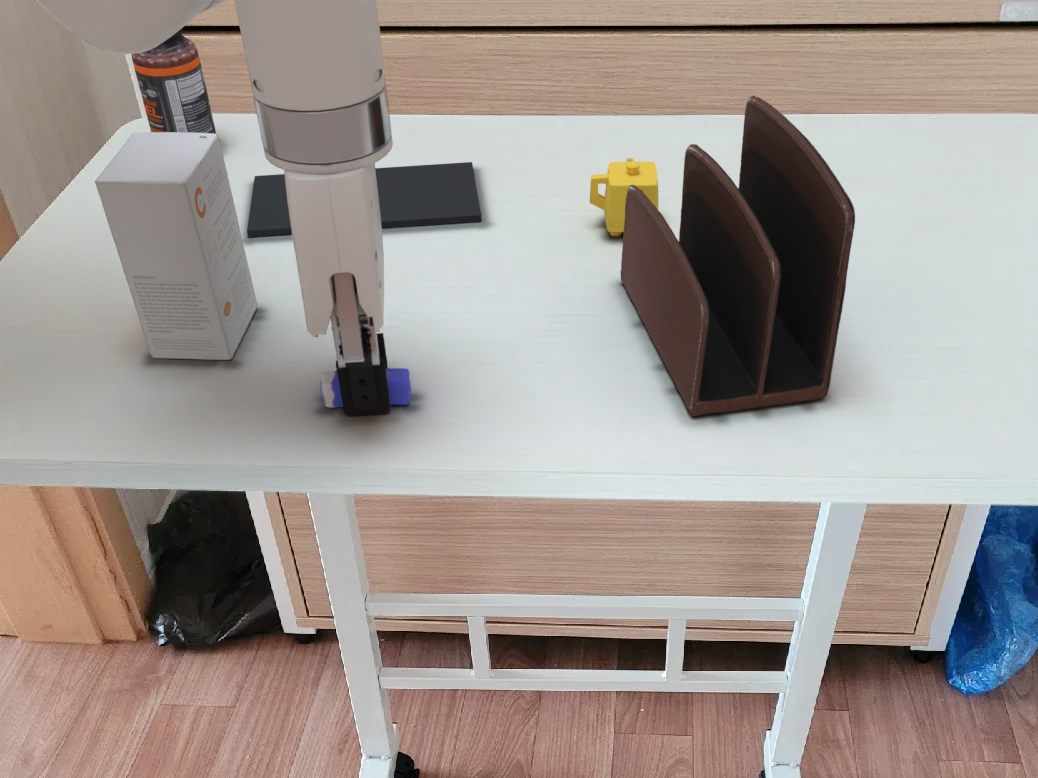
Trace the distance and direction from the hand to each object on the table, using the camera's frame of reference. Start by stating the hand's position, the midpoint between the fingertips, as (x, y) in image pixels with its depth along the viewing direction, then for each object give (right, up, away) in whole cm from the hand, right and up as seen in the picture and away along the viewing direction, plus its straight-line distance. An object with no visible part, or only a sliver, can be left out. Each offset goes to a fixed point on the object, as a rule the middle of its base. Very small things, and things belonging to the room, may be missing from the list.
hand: (367, 398), depth 78 cm
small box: (-13, +7, +7) cm, 17 cm away
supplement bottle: (-22, +32, +29) cm, 49 cm away
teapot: (+19, +20, +17) cm, 33 cm away
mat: (-4, +24, +21) cm, 32 cm away
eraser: (0, 0, 0) cm, 0 cm away
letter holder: (+25, +6, +5) cm, 26 cm away
